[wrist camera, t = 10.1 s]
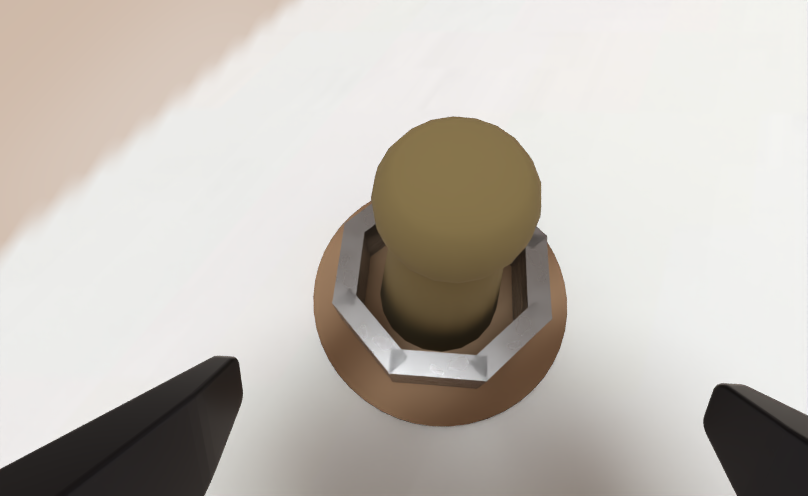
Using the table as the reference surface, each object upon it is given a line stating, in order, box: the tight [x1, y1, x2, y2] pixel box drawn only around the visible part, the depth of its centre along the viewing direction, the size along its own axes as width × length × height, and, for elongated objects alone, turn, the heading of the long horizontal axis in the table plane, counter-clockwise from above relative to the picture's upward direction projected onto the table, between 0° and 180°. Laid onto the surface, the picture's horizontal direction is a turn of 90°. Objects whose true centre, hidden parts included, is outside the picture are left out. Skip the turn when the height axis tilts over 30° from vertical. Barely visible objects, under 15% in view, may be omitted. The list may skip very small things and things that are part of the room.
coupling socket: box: [313, 201, 567, 426], centre depth 21 cm, size 13×13×4 cm
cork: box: [371, 117, 541, 352], centre depth 16 cm, size 6×6×11 cm
